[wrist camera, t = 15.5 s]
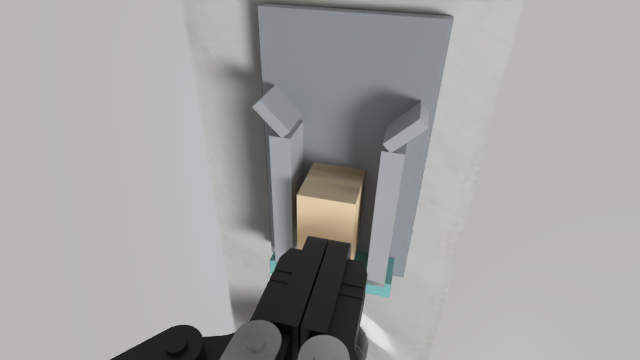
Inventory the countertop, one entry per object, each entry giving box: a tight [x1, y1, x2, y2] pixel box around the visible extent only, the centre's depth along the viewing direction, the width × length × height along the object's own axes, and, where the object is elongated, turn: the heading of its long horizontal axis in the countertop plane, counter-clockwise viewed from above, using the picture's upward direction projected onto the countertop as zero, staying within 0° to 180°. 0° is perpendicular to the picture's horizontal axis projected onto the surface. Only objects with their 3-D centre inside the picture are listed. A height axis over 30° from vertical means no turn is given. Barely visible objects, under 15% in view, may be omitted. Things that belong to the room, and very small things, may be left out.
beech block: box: [297, 162, 366, 260], centre depth 30 cm, size 7×4×4 cm, turn 179°
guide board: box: [252, 3, 453, 298], centre depth 29 cm, size 21×12×4 cm, turn 179°
